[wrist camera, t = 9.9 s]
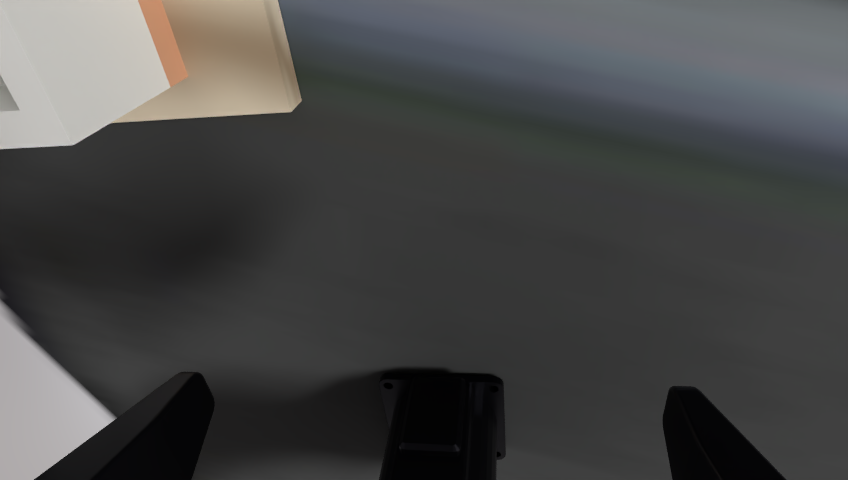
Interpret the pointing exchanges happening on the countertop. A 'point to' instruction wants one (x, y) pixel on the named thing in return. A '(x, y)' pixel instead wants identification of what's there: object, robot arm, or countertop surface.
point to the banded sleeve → (80, 66)
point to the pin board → (226, 62)
